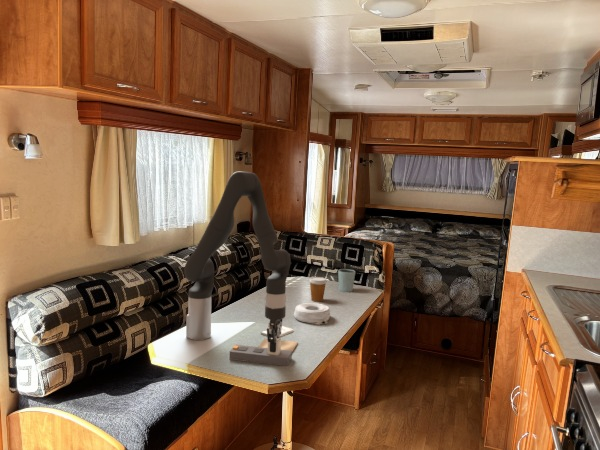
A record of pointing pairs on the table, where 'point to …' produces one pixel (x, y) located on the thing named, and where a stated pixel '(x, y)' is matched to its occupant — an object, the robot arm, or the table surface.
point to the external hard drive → (283, 331)
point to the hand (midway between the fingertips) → (274, 349)
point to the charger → (278, 347)
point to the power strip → (259, 355)
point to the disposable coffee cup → (317, 288)
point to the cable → (312, 313)
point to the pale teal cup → (346, 280)
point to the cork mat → (284, 345)
